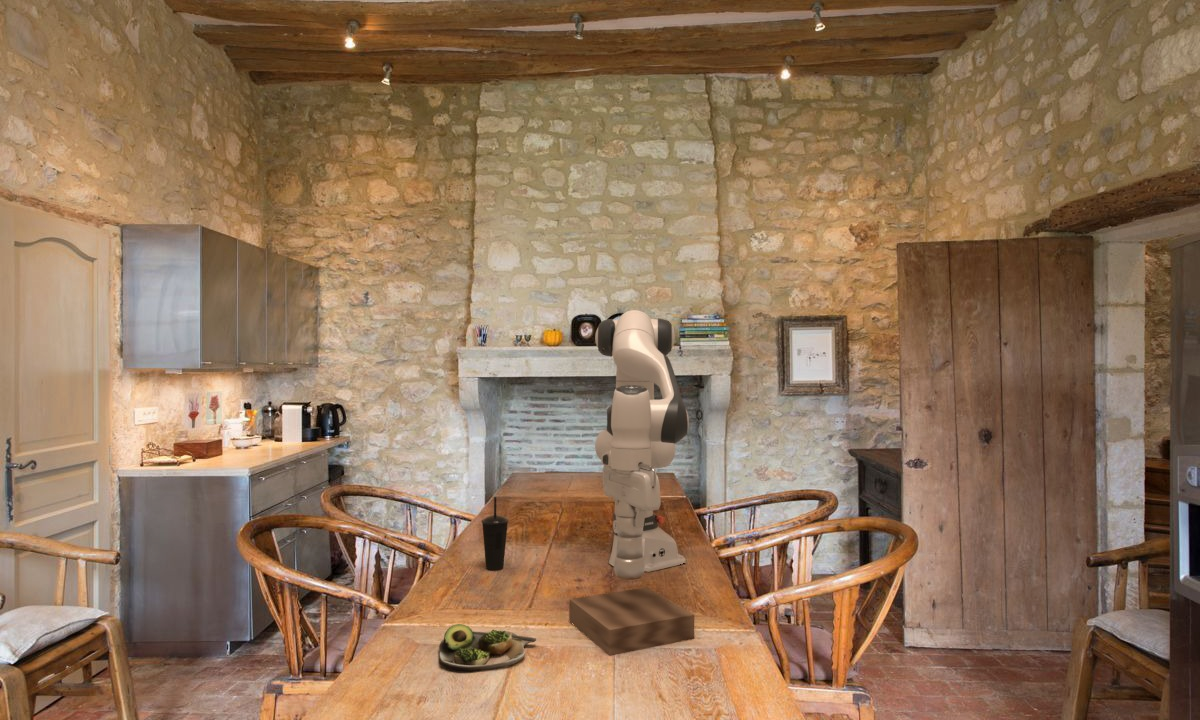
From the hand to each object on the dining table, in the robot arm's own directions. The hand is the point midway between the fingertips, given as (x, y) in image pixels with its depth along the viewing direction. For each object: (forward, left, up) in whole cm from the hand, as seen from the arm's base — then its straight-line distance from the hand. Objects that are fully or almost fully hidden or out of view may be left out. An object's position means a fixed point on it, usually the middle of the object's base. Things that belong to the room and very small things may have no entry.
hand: (630, 523), depth 150 cm
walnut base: (0, 0, -23) cm, 23 cm away
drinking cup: (+13, -56, -23) cm, 62 cm away
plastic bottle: (0, 0, -12) cm, 12 cm away
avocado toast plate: (+33, -2, -24) cm, 41 cm away
